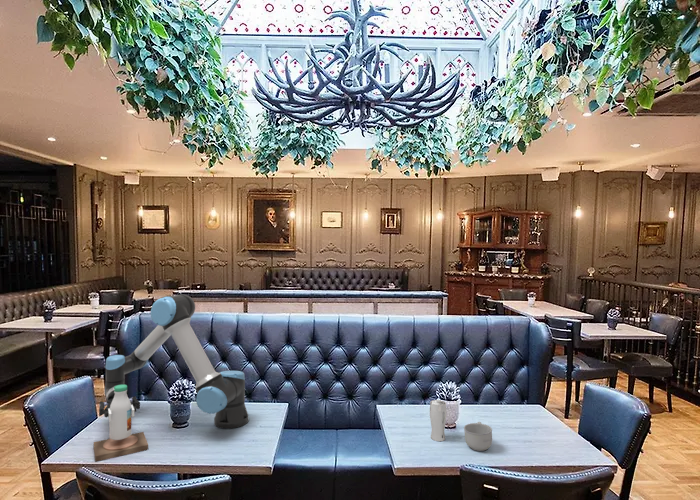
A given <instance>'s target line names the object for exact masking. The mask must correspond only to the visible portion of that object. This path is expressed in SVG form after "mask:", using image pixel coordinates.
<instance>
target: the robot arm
mask: <svg viewBox="0 0 700 500" xmlns="http://www.w3.org/2000/svg"><path fill="white" fill-rule="evenodd" d="M195 311H196V303H195V301H194V299H193V298H192V297H191V296H189V295H187V294H177V295H171V296H164V297H161V298H158V299H157V300H155V301H154V302H153V304H152V305H151V309H150V318H151V321H152V322H153V323H154V324H155V325H156V327H155V328H154V329H153V330H152V331H151V332H150V333H149V334H148V335H147V337H145V339H144V340H142V341H141V343H140V344H138V346H137V347H136V348H135V350H134V351H132V352H131V354H129V355H127V356H125V355H123V354H115V355H109V356H107V358H106V360H105V365H104V367H105V368H104V369H105V385H104V386H105V387H104V394H105V398H106V401H100V402H99V407H98V408H99V409H98V416H99V417H102V416H103V415H104V418H108V421H111V411H110V405H111V403H112V401H113V399H114V395H115V393H114V387H115V386H117V385H125V380H126V379H125V378H126V376H125V375H127V374H129V373H132V372H133V371H137V370H141V369H142V368H144V367H145V366H147V365H148V362H149V359H150V358H151V357H152V356H153V355H154V354H155V352H156V351H158V349H159V348H160V347H161V346H162V345H163V344H164V343H165V342H167V340H168V339H169V338H170V337H172V339H173V341H174V343H175V345H176V347H177V349H178V350H179V353H180V354H181V356H182V358H183V360H184V361H185V364H186V365H187V367H188V369H189V371H190V373H191V375H192V376H193V378H194V380H195V382H196V384H195V388H194V389H195V391H196V392H197V394H196V399H195V400H196V401H195V402H196V405H197V407H198V408H199V410H200V411H201V412H203V413H206V414H210V415H211V414H215V415H214V421H213V424H214V426H215V427H216V428H219V429H229V430H230V429H236V428H241V427H243V426H245V425H246V424H248V422H249V413H248V410H247V407H246V403H245V402H246V401H245V399H246V394H245V393H246V391H245V390H246V386H245V385H246V379H245V373H244V371H240V370H223V371H220V372H217V371H216V370H215V368H214V366H213V364H212V363H211V361H210V359H209V357H208V355H207V354H206V352H205V350H204V348H203V346H202V345H201V342H200V341H199V339H198V337H197V335H196V334H195V331H194V329H193V328H192V326H191V324H190V322H191V320H192V317H193V315H194V314H195ZM129 400H130V402H131V418H133V417H134V418H135V413H136V412H137V410H140V409H141V402H140V400H138V399H137V396H135V395H134V396H132V397H130V398H129Z"/></svg>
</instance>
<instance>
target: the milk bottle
mask: <svg viewBox="0 0 700 500" xmlns="http://www.w3.org/2000/svg"><path fill="white" fill-rule="evenodd" d="M114 393H115V395H114V399H113V401H112V403H111V405H110V411H111V421H109V420H108V421H109V422H108V424H109V425H108V426H109V427H108V429H109V431H108V432H109V434H108V436H109V437H108V439H111V440H121V439H125V438H127V437H129V436H130V435H131V434H132V415H131V402H130V400H129V399H130V397H128V396H129V395H128V394H127V393H128V385H127V384H124V385H117V386H115V387H114Z"/></svg>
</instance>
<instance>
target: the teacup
mask: <svg viewBox="0 0 700 500" xmlns="http://www.w3.org/2000/svg"><path fill="white" fill-rule="evenodd" d="M463 431H464V440H465V443H466V445H467V446H468V447H469V448H470V449H472V450H473V451H478V452H484V451H486V450H488V449H489V448H491V446H492V443H493V428H492V427H491V426H490V425H488V424H485V423H482V422H481V421H477V422H472V423H471V422H470V423H468V424H466V425H464V427H463Z"/></svg>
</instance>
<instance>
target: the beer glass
mask: <svg viewBox="0 0 700 500" xmlns="http://www.w3.org/2000/svg"><path fill="white" fill-rule="evenodd" d="M447 410H448V409H447V403H446V401H444V400H440V399H433V400H431V401H430V402H429V419H430V425H431V433H430V439H431V440H432V441H435V442H444V441H445V440H446V434H445V433H446V432H445V427H446V422H447V417H448V416H447V412H448V411H447Z"/></svg>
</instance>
